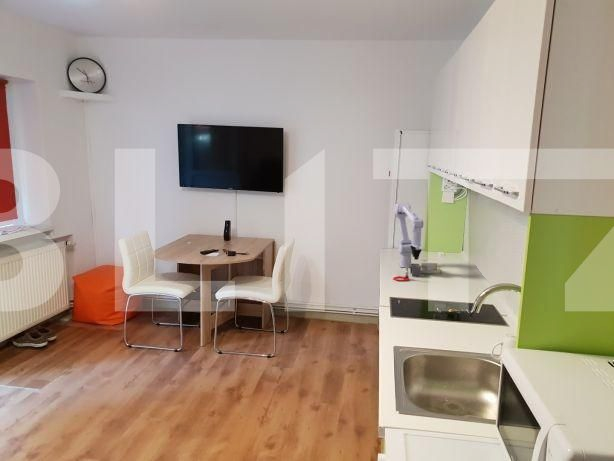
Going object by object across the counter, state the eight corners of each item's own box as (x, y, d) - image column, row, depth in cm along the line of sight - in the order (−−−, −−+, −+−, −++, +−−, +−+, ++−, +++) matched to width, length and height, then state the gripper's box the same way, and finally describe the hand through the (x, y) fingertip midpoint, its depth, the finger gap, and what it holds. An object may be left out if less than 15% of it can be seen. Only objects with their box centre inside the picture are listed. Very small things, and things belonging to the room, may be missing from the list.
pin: (421, 270, 279) (421, 263, 279) (430, 269, 288) (431, 263, 289) (427, 270, 276) (427, 263, 276) (437, 270, 285) (437, 263, 286)
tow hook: (394, 282, 264) (409, 281, 264) (394, 261, 262) (409, 261, 262) (392, 278, 273) (407, 277, 272) (392, 258, 271) (407, 257, 270)
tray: (411, 269, 292) (411, 266, 292) (438, 269, 291) (438, 266, 290) (413, 272, 283) (413, 270, 282) (441, 273, 281) (441, 270, 281)
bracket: (410, 272, 283) (410, 263, 282) (418, 272, 283) (418, 263, 282) (412, 276, 274) (412, 267, 273) (420, 276, 274) (420, 267, 273)
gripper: (408, 235, 288) (407, 255, 291) (411, 239, 274) (410, 260, 277) (419, 235, 288) (418, 255, 290) (423, 240, 273) (421, 261, 276)
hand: (415, 258), depth 283 cm, fingers open, 7 cm apart
